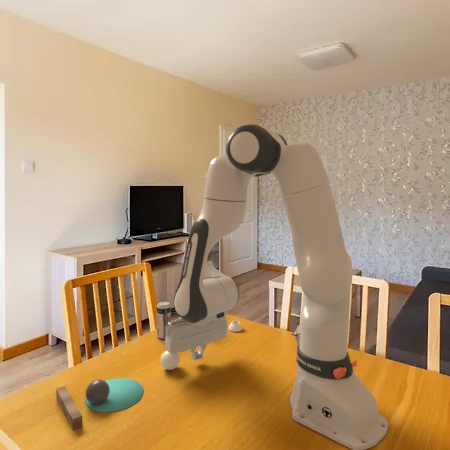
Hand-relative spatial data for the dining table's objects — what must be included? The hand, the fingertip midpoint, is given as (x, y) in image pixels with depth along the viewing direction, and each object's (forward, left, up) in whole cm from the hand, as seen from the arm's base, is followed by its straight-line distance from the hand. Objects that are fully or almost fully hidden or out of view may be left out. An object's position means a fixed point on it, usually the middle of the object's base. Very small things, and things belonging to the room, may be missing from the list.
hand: (197, 358), depth 104 cm
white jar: (+12, -25, -2) cm, 28 cm away
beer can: (+22, -1, -2) cm, 22 cm away
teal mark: (0, +25, -2) cm, 25 cm away
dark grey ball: (-1, +29, +1) cm, 30 cm away
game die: (-12, -35, -2) cm, 37 cm away
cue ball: (+2, +8, +1) cm, 8 cm away
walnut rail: (0, +36, -2) cm, 36 cm away
